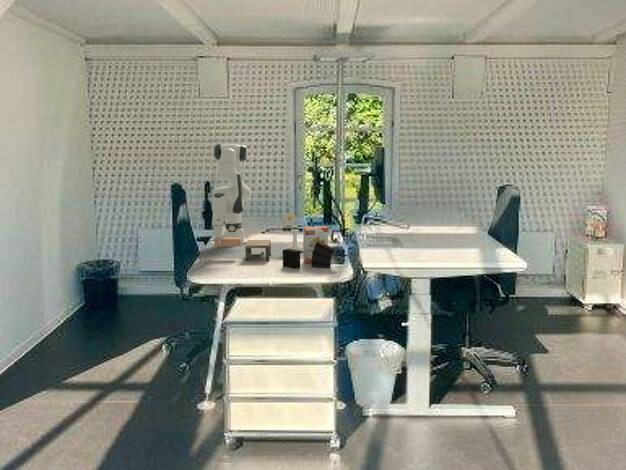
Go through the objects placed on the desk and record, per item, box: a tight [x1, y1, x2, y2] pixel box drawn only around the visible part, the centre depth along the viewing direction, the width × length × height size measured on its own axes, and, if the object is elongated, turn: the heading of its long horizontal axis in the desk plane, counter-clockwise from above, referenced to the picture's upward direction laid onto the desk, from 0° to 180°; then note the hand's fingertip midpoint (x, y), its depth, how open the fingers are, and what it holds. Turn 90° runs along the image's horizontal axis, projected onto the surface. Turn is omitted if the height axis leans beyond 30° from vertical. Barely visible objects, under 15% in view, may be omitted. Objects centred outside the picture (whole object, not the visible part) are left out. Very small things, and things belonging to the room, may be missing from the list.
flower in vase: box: [282, 212, 303, 252], centre depth 434 cm, size 13×11×25 cm
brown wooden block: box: [213, 237, 243, 248], centre depth 416 cm, size 6×16×4 cm, turn 90°
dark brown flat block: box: [310, 241, 336, 269], centre depth 390 cm, size 4×13×15 cm, turn 75°
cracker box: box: [302, 225, 329, 264], centre depth 403 cm, size 14×6×21 cm, turn 105°
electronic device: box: [282, 248, 301, 270], centre depth 391 cm, size 4×10×10 cm, turn 49°
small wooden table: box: [244, 239, 272, 262], centre depth 416 cm, size 19×14×10 cm
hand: (220, 242), depth 416 cm, fingers closed on brown wooden block, 6 cm apart
